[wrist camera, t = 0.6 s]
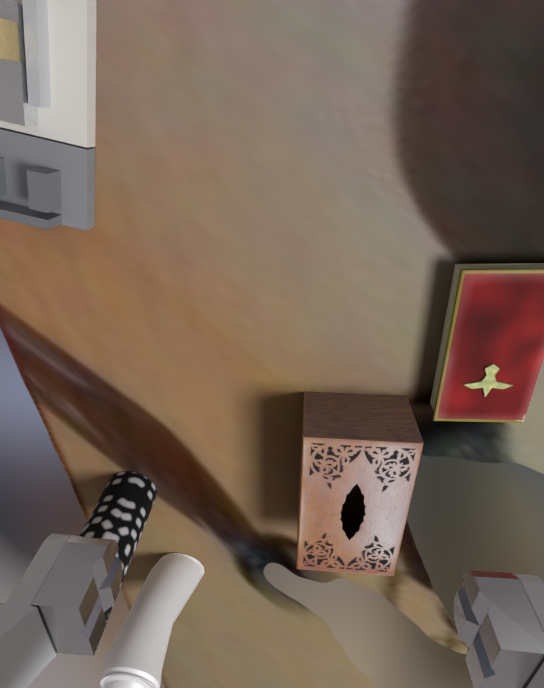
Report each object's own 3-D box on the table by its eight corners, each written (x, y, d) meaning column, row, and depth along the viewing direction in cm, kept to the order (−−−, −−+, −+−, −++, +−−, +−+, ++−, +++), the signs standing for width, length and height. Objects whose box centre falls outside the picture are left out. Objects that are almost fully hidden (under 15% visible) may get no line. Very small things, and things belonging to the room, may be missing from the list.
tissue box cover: (383, 519, 72) (393, 576, 63) (298, 514, 73) (296, 569, 64) (406, 395, 60) (423, 443, 51) (304, 390, 61) (303, 437, 52)
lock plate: (-51, -37, 40) (-94, -55, 36) (96, 0, 41) (71, -13, 36) (-22, 199, 51) (-53, 207, 46) (94, 226, 51) (74, 237, 47)
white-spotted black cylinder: (122, 509, 75) (66, 629, 58) (99, 476, 72) (32, 593, 54) (164, 502, 74) (119, 623, 56) (143, 467, 70) (89, 585, 52)
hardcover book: (556, 258, 50) (576, 270, 46) (513, 404, 60) (527, 424, 56) (451, 259, 51) (462, 271, 47) (426, 403, 61) (433, 422, 57)
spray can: (147, 578, 84) (92, 740, 63) (140, 543, 79) (77, 706, 57) (205, 582, 84) (169, 748, 62) (202, 547, 79) (161, 715, 57)
